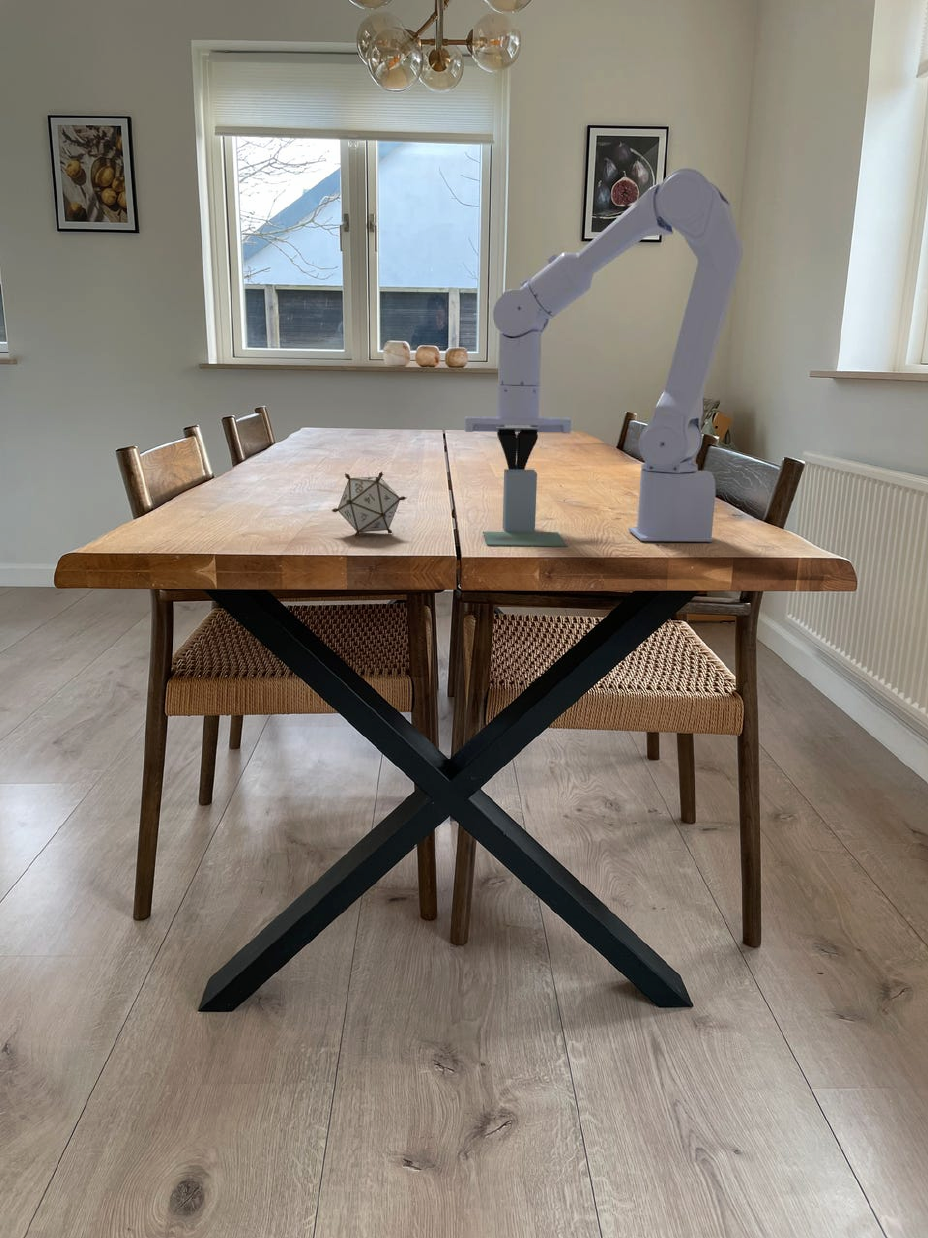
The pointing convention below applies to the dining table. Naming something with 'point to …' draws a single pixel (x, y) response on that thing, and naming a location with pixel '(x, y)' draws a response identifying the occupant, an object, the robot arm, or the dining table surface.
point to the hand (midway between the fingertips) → (515, 484)
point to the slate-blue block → (519, 500)
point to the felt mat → (524, 539)
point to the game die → (368, 504)
